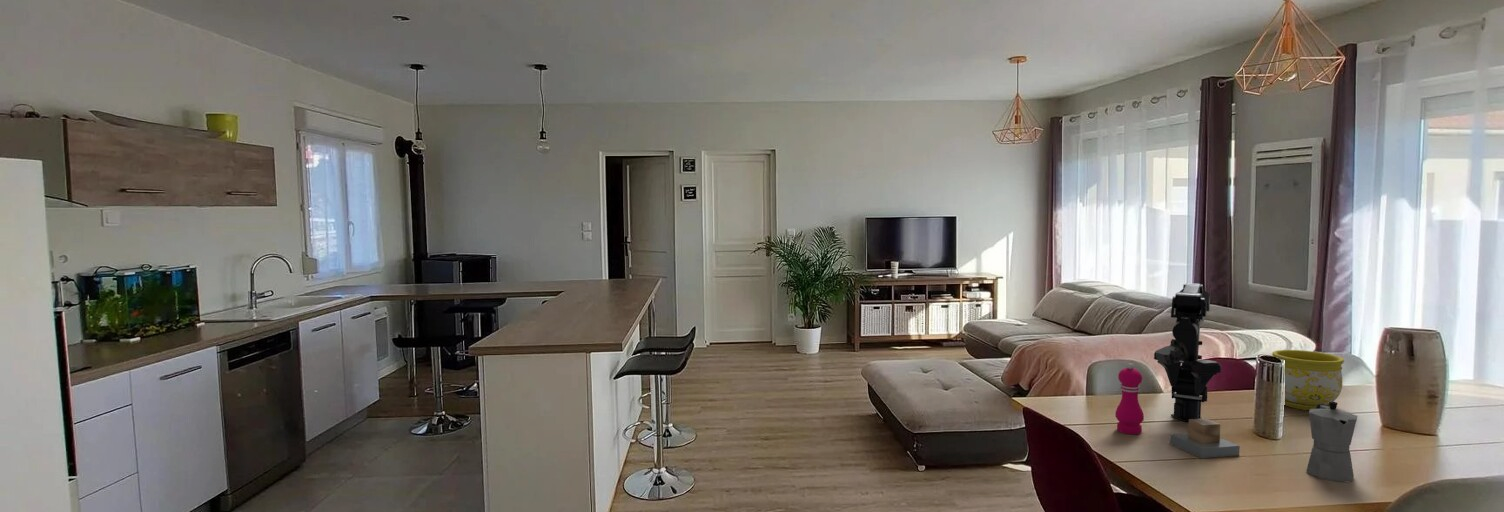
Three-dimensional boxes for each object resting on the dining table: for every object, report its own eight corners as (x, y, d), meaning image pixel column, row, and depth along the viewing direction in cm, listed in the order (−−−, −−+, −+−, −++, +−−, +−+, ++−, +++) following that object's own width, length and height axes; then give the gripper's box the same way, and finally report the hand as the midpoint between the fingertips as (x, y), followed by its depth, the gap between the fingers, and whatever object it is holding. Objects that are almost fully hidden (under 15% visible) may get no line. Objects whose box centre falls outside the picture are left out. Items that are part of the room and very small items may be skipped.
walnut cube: (1204, 436, 189) (1205, 418, 189) (1219, 442, 184) (1220, 424, 184) (1188, 437, 188) (1188, 419, 188) (1202, 443, 183) (1203, 425, 183)
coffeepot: (1366, 488, 160) (1370, 411, 159) (1316, 482, 164) (1320, 407, 162) (1338, 464, 174) (1342, 394, 173) (1292, 460, 178) (1296, 390, 177)
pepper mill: (1139, 426, 204) (1141, 360, 202) (1146, 435, 197) (1148, 366, 195) (1112, 425, 206) (1113, 359, 204) (1118, 434, 199) (1119, 366, 197)
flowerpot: (1357, 413, 216) (1359, 361, 214) (1298, 414, 216) (1300, 361, 215) (1311, 397, 234) (1313, 349, 232) (1256, 398, 234) (1259, 349, 233)
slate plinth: (1205, 441, 192) (1205, 432, 192) (1239, 455, 182) (1239, 445, 181) (1169, 443, 191) (1170, 434, 191) (1201, 458, 180) (1202, 448, 180)
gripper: (1138, 332, 207) (1136, 383, 208) (1187, 344, 188) (1185, 401, 190) (1171, 330, 208) (1170, 381, 210) (1223, 342, 190) (1221, 398, 191)
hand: (1185, 390), depth 200 cm, fingers open, 9 cm apart
